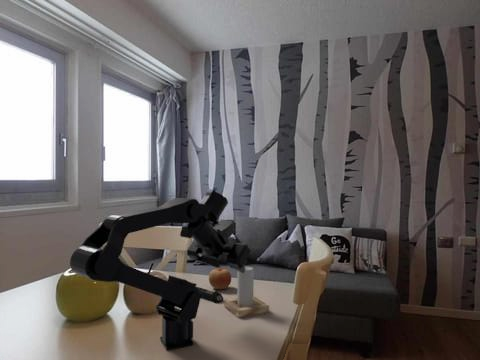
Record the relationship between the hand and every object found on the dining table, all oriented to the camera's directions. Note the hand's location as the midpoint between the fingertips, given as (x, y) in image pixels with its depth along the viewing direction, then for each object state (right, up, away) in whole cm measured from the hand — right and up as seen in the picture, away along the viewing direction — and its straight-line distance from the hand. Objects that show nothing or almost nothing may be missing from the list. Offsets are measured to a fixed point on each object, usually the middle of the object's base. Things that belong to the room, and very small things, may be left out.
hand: (231, 269), depth 102 cm
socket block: (+4, -14, +6) cm, 16 cm away
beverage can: (+4, -13, +6) cm, 15 cm away
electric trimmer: (-10, -14, +17) cm, 24 cm away
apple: (-5, -14, +26) cm, 30 cm away
